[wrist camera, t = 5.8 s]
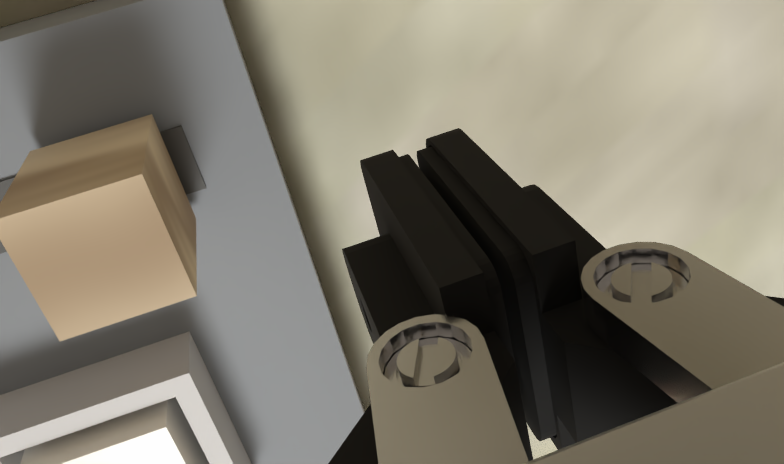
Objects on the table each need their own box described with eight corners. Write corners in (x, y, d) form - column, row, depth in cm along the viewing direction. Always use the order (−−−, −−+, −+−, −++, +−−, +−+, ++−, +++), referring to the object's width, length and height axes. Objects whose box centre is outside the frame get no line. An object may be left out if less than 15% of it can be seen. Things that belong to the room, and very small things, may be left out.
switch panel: (408, 540, 31) (439, 638, 27) (85, 663, 30) (69, 784, 26) (212, -33, 19) (217, -8, 15) (-338, 124, 18) (-486, 196, 14)
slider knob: (196, 218, 19) (197, 296, 16) (84, 254, 19) (60, 341, 15) (151, 113, 18) (142, 174, 14) (30, 151, 17) (-11, 221, 14)
